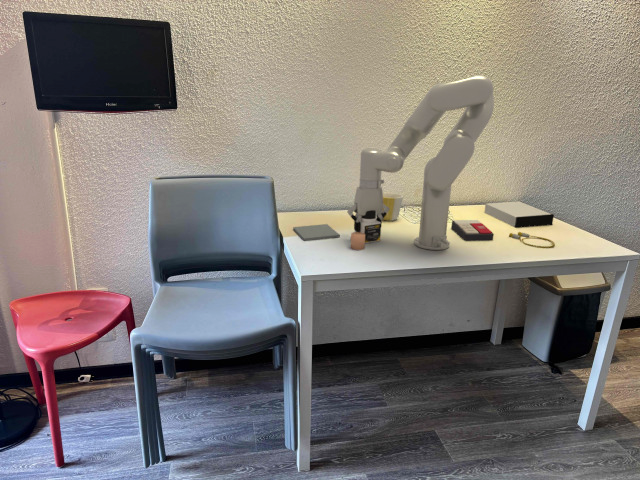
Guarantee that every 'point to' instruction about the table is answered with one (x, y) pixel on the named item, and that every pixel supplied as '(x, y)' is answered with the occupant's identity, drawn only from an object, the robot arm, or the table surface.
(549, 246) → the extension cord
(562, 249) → the table surface
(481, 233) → the red and grey box
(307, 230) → the slate mat
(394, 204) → the mug
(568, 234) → the table surface
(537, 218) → the disc drive
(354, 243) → the terracotta cylinder
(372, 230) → the medicine bottle
